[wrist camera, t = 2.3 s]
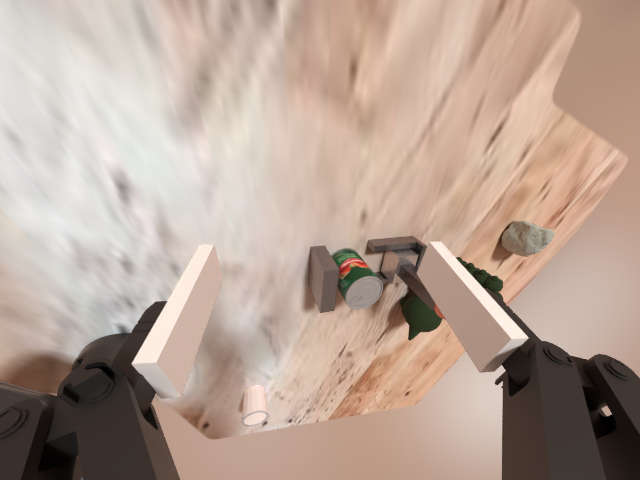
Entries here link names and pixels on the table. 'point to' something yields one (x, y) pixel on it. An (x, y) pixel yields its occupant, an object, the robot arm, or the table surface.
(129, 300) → the table surface
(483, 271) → the toy figurine
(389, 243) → the press frame
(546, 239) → the decorative stone
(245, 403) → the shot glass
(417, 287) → the ball-tipped square rod
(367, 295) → the canned tomato
